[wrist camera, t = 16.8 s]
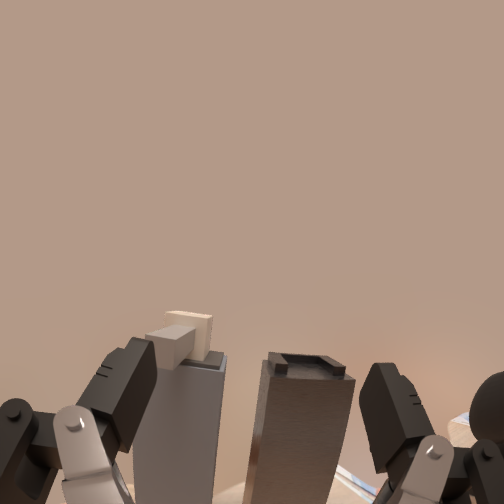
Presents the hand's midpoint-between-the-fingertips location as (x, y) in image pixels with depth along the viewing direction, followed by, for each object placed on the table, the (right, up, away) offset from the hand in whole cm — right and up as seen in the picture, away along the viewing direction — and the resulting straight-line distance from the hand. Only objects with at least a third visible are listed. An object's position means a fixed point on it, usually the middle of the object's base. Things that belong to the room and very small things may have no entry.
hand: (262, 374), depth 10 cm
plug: (-8, -7, +20) cm, 23 cm away
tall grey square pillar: (-12, -40, +20) cm, 46 cm away
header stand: (+3, -42, +20) cm, 46 cm away
